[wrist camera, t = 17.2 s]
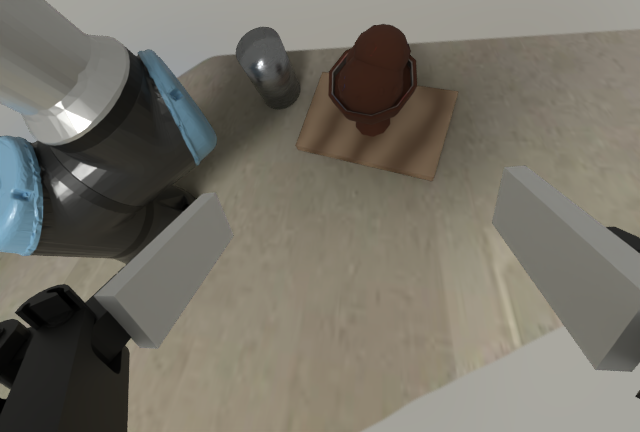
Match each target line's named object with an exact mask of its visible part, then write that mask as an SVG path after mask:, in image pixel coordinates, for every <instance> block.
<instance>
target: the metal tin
mask: <svg viewBox="0 0 640 432" xmlns="http://www.w3.org/2000/svg"><path fill="white" fill-rule="evenodd" d="M236 57H237V60H238V62H239V63H240V65H241V66H242V68H243V69H244V71H245V72H246V74H247V75H248V77H249V78H250V80H251V81H252V83H253V84H254V86H255V87H256V89H257V90H258V92H259V93H260V95H261V96H262V98H263V99H264V101H265V102H266V104H267V105H268V106H269V107H271V108H273V109H284V108H287V107H289V106H290V105H292V104H293V103H294V102H295V101H296V100H297V98H298V96H299V93H300V85H299V82H298V80H297V77H296V75H295V73H294V70H293V68H292V65H291V63H290V61H289V58H288V56H287V53H286V51H285V49H284V46H283V44H282V42H281V39H280V37H279V35H278V33H277V32H276V31H275V30H274V29H272V28H269V27H259V28H255V29H253V30H251V31H249V32H248V33H246V34H245V35H244V36H243V37H242V38H241V40H240V41H239V43H238V45H237V48H236Z"/></svg>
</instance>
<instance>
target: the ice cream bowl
mask: <svg viewBox="0 0 640 432" xmlns="http://www.w3.org/2000/svg"><path fill="white" fill-rule="evenodd" d="M410 52H411V50H410V47H409V44H407V40H406V37H405V35H404V34H403V33H402V32H401V31H400V30H399V29H397V28H395V27H394V26H391V25H385V24H381V25H374V26H372V27H371V28H369V29H368V30H366V31H365V32H363V33H361V35H360V36H359V37H358V39H357V40H356V42H355V45H354V46H353V47H352V48H351V49H349V50H346V51H345V52H344V53H343V54H342V56H341V57H340V58H339V60H338V61H337V62H336V63H335V65H334V66H333V67H332V69H331V70H330V71H329V92H328V96H329V97H330V99H331V100H332V102H333V103H334V104H335V105H336V107H337V108H338V109H339V110H340V111H341V112H342V114H343V115H344V116H345V117H346V118H347V119H348V120H350V121H355V122H356V128H357V129H358V130H359V131H360V132H361V134H362V135H367V136H371V137H374V136H376V135H379V134H382V133H384V132H385V130H386V129H387V128H388V126H389V125H390V118H392V117H394V116H396V115H397V114H398V113H399V111H400V110H401V109H402V107H403V106H404V105H405V104H406V102H407V101H408V100H409V98H410V97H411V96H412V94H413V93H414V91H415V89H416V87H417V71H416V60H415V59H414V58H413V57H412V56H411V55H410Z"/></svg>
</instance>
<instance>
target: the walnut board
mask: <svg viewBox="0 0 640 432" xmlns="http://www.w3.org/2000/svg"><path fill="white" fill-rule="evenodd" d="M328 92H329V73H326V72H322V75H321V77H320V80H319V83H318V86H317V88H316V91H315V94H314V97H313V99H312V102H311V105H310V107H309V110H308V113H307V116H306V118H305V121H304V124H303V126H302V129H301V132H300V135H299V137H298V140H297V143H296V147H297V149H298V150H302V151H306V152H310V153H314V154H319V155H323V156H327V157H332V158H336V159H340V160H344V161H349V162H353V163H357V164H361V165H366V166H370V167H374V168H378V169H383V170H387V171H391V172H396V173H400V174H404V175H408V176H413V177H417V178H421V179H425V180H430V181H432V180H433V178H434V176H435V172H436V169H437V165H438V162H439V158H440V155H441V151H442V148H443V144H444V141H445V137H446V134H447V130H448V127H449V123H450V120H451V116H452V113H453V109H454V106H455V102H456V99H457V95H458V91H451V90H444V89H437V88H430V87H423V86H417V87H416V89H415V91H414V93H413V94H412V96H411V97H410V98H409V100H408V101H407V102H406V104H405V105H404V106H403V107H402V109H401V110H400V111H399V113H398V114H397V115H396V116H394V117H392V118H390V125H389V126H388V128H387V129H386V130H385V132H384V133H382V134H379V135H376V136H374V137H371V136H367V135H362V134H361V132H360V131H359V130H358V129H357V128H356V122H355V121H350V120H348V119H347V118H346V117H345V116H344V115H343V114H342V112H341V111H340V110H339V109H338V108H337V107H336V105H335V104H334V103H333V102H332V100H331V99H330V97H329V96H328Z"/></svg>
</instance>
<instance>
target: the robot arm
mask: <svg viewBox="0 0 640 432" xmlns="http://www.w3.org/2000/svg"><path fill="white" fill-rule="evenodd" d="M0 103H1V104H2V105H5V106H7V107H9V108H11V109H13V110H15V111H17V112H19V113H21V115H22V116H23V119H24V120H25V123H26V125H27V127H28V129H29V131H30V133H31V135H32V136H33V137H34V138H35V139H36V140H37V141H36V142H34V143H30V142H28V141H27V140H26V139H24V138H21V137H12V136H0V252H9V253H18V254H20V255H22V256H28V255H43V256H67V257H92V258H113V259H116V260H119V261H121V262H123V263H126V266H125V267H123V268H122V269H121V270H120V271H119V272H118V274H115V275H114V276H113V277H112V278H111V279H110V280H109V281H108V282H107V283H106V284H105V285H104V286H103V287H102V288H100V289H99V290H98V291H97V292H96V293H95V294H94V295H93V296H92V297H91V298H90V299H89V300H88V301H87V302H86V303H85V302H84V301H83V300H82V299H81V298H80V297H79V296H78V295H77V294H76V293H75V292H74V291H73V290H72V289H71V288H70V287H69V286H68V285H65V284H63V285H56V286H53V287H50V288H48V289H46V290H44V291H42V292H40V293H38V294H36V295H35V296H33V297H31V298H30V299H28V300H27V301H26V302H25V303H23V304H22V305H21V306H20V307H19V308H18V310H17V311H16V312H15V313H16V314H17V315H18V316H19V317H21V318H22V319H23V320H24V321H25V322H27V323H28V324H29V325H30V326H31V327H30V328H26V327H25V326H24V325H23V324H21V323H20V322H19V321H18V320H15V319H11V320H6V321H3V322H0V383H1V384H3V385H4V386H6V387H7V388H9V389H11V390H10V393H9V395H8V397H7V399H1V398H0V432H127V421H128V386H129V350H128V348H127V347H126V346H125V345H126V343H127V342H128V341H129V340H130V338H132V339H133V341H134V342H135V343H136V344H137V345H138V346H139V347H140V348H159V346H160V345H161V343H162V342H163V340H164V339H165V337H166V336H167V334H168V333H169V331H170V330H171V328H172V327H173V325H174V324H175V322H176V321H177V319H178V318H179V316H180V315H181V313H182V312H183V310H184V309H185V307H186V306H187V304H188V303H189V301H190V300H191V299H192V297H193V296H194V294H195V293H196V291H197V290H198V288H199V287H200V285H201V284H202V282H203V281H204V279H205V278H206V276H207V275H208V273H209V272H210V270H211V269H212V267H213V266H214V264H215V263H216V261H217V260H218V258H219V257H220V255H221V254H222V252H223V251H224V249H225V248H226V246H227V245H228V243H229V242H230V240H231V239H232V237H233V236H234V235H233V233H232V230H231V228H230V225H229V223H228V221H227V218H226V216H225V213H224V211H223V208H222V206H221V204H220V201H219V199H218V196H217V194H216V192H215V193H204V194H202V195H200V196H199V197H198V198H197V199H195V198H194V197H193V196H192V195H191V194H190V193H188V192H187V191H185V190H183V189H180V188H178V187H175V186H172V184H174V183H175V182H176V181H177V180H179V179H180V178H181V177H183V176H184V175H185V174H186V173H188V172H189V171H190V170H191V169H193V168H194V167H195V166H198V165H199V164H200V161H201V160H202V159H203V158H205V157H206V156H207V155H208V154H209V153H210V152H211V151H212V150H213V149H214V148H215V146H216V143H217V137H216V134H215V131H214V130H213V128H212V126H211V125H210V123H209V122H208V120H207V119H206V117H205V116H204V114H203V113H202V112H201V110H200V109H199V107H198V106H197V105H196V103H195V102H194V100H193V99H192V98H191V96H190V95H189V94H188V92H187V91H186V90H185V88H184V87H183V86H182V84H181V83H180V82H179V80H178V79H177V78H176V77H175V75H174V74H173V73H172V72H171V70H170V69H169V68H168V67H167V65H166V64H165V63H164V62H163V61H162V59H161V58H160V57H158V56H157V55H156V53H155V52H154V51H152V50H145V51H139V52H138V56H135V55H133V53H131V52H130V51H129V50H128V49H127V48H126V47H125V46H124V45H123V44H122V43H120V42H119V41H118V40H116V39H115V38H112V37H108V36H95V35H88V34H85V33H83V32H82V31H81V30H79V29H78V28H77V27H76V26H75V25H74V24H72V23H71V22H70V21H69V20H68V19H66V18H65V17H64V16H63V15H62V14H60V13H59V12H58V11H57V10H56V9H54V8H53V7H52V6H51V5H50V4H48V3H47V2H46V1H45V0H0ZM492 224H493V225H494V226H495V228H496V229H497V231H498V232H499V234H500V235H501V236H502V238H503V239H504V241H505V242H506V244H507V245H508V246H509V248H510V249H511V251H512V252H513V253H514V255H515V256H516V258H517V259H518V261H519V262H520V263H521V265H522V266H523V268H524V269H525V271H526V272H527V273H528V275H529V276H530V278H531V279H532V280H533V282H534V283H535V285H536V286H537V288H538V289H539V290H540V292H541V293H542V295H543V296H544V298H545V299H546V300H547V302H548V303H549V305H550V306H551V307H552V309H553V310H554V312H555V313H556V315H557V316H558V317H559V319H560V320H561V322H562V323H563V325H564V326H565V327H566V329H567V330H568V332H569V333H570V334H571V336H572V337H573V339H574V340H575V342H576V343H577V344H578V346H579V347H580V349H581V350H582V352H583V353H584V354H585V356H586V357H587V359H588V360H589V361H590V363H591V364H592V366H593V367H594V369H595V370H610V371H630V372H632V371H633V370H634V368H635V367H636V366H637V365H638V364H639V362H640V238H638V237H637V236H635V235H632V234H630V233H628V232H625V231H623V230H621V229H619V228H616V227H605V226H603V225H602V224H601V223H599V222H598V221H597V220H596V219H594V218H593V217H592V216H590V215H589V214H588V213H586V212H585V211H584V210H583V209H581V208H580V207H579V206H577V205H576V204H575V203H573V202H572V201H571V200H570V199H568V198H567V197H566V196H564V195H563V194H562V193H560V192H559V191H558V190H557V189H555V188H554V187H553V186H551V185H550V184H549V183H547V182H546V181H545V180H544V179H542V178H541V177H540V176H538V175H537V174H536V173H534V172H533V171H532V170H531V169H529V168H528V167H527V166H514V167H504V170H503V175H502V179H501V184H500V188H499V193H498V197H497V202H496V207H495V211H494V216H493V220H492ZM636 397H637V398H639V399H640V390H639V392H638V393H637V395H636Z"/></svg>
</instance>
